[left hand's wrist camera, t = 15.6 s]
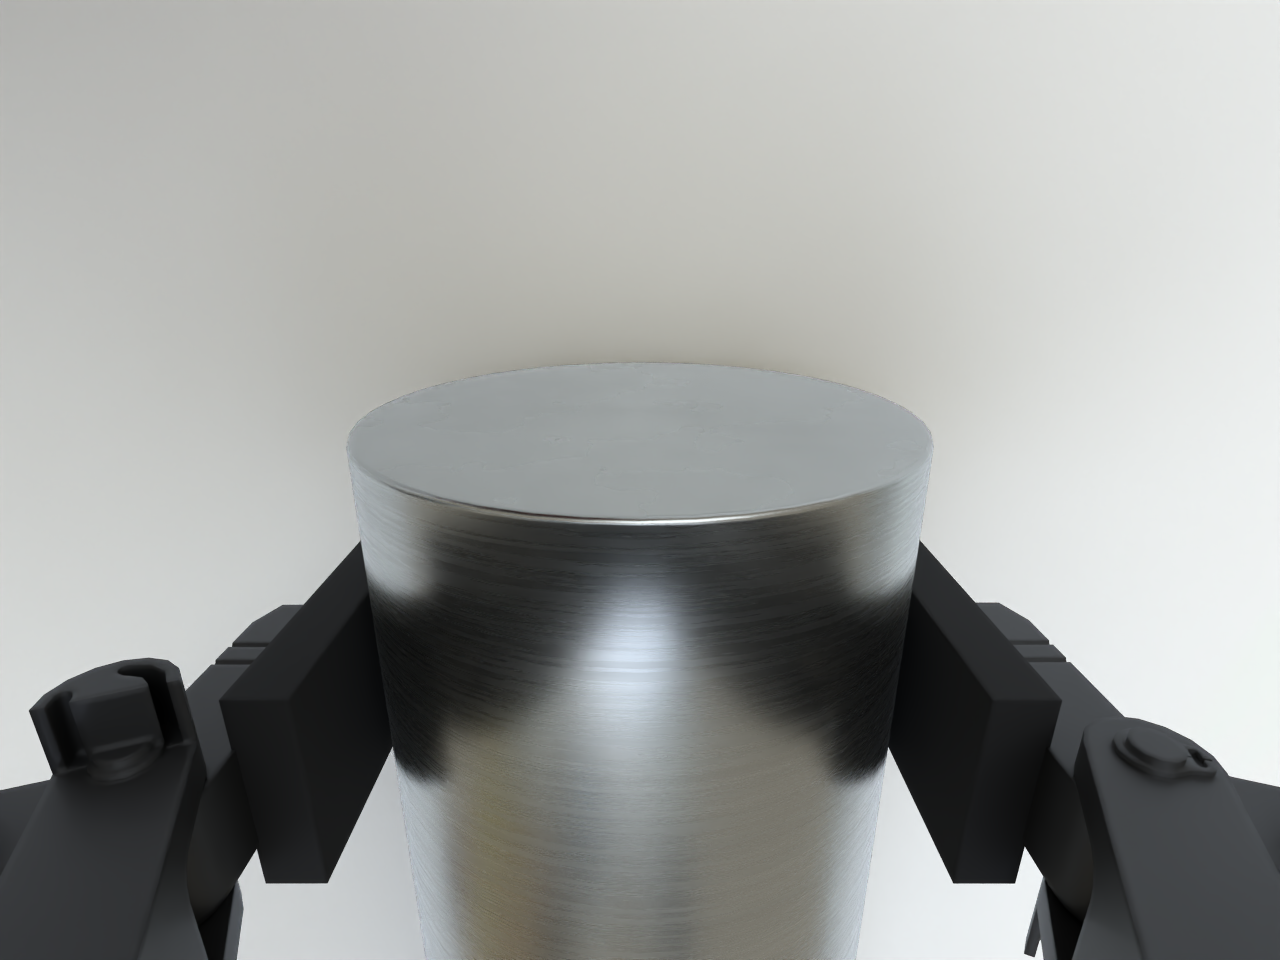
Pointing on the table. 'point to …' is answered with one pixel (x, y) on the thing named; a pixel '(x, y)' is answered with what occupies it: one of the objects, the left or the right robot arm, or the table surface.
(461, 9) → the table surface
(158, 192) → the table surface
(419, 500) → the rod
